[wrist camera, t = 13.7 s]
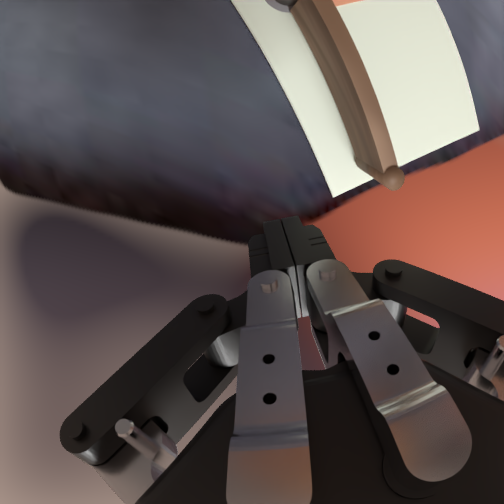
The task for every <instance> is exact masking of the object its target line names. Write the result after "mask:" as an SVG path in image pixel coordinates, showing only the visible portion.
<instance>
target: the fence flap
mask: <svg viewBox="0 0 504 504" xmlns="http://www.w3.org/2000/svg"><path fill="white" fill-rule="evenodd" d="M290 11H291V13H292V15H293V17H294V18H295V20H296V22H297V24H298V26H299V28H300V29H301V31H302V33H303V35H304V37H305V39H306V41H307V43H308V45H309V47H310V49H311V51H312V53H313V55H314V57H315V59H316V61H317V63H318V65H319V67H320V69H321V71H322V74H323V76H324V78H325V80H326V82H327V85H328V87H329V89H330V91H331V94H332V96H333V98H334V101H335V103H336V106H337V108H338V111H339V113H340V116H341V118H342V121H343V123H344V126H345V128H346V131H347V134H348V136H349V139H350V142H351V145H352V147H353V150H354V153H355V156H356V158H355V163H356V165H357V167H358V168H359V169H361V170H362V171H364V172H365V173H367V174H368V175H370V176H371V177H373V178H374V179H375V180H377V181H378V182H380V183H381V184H383V185H384V186H385V187H387V188H388V189H390V190H397V189H399V188H400V187H401V186H402V185H403V183H404V173H403V171H402V170H401V169H399V168H398V164H397V160H396V156H395V152H394V149H393V145H392V142H391V139H390V135H389V132H388V129H387V126H386V122H385V119H384V116H383V113H382V110H381V108H380V105H379V102H378V99H377V96H376V94H375V91H374V88H373V86H372V83H371V81H370V78H369V76H368V73H367V71H366V68H365V66H364V64H363V61H362V59H361V57H360V54H359V52H358V50H357V48H356V46H355V43H354V41H353V39H352V37H351V35H350V33H349V31H348V29H347V27H346V25H345V23H344V21H343V19H342V17H341V15H340V13H339V12H338V10H337V8H336V6H335V4H334V2H333V1H332V0H298V1H297V2H296V4H295V5H294V6H293V8H292V9H291V10H290Z"/></svg>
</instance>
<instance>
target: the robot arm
mask: <svg viewBox="0 0 504 504" xmlns="http://www.w3.org/2000/svg"><path fill="white" fill-rule="evenodd" d="M263 226H264V231H265V234H260V235H255V236H252V238H251V239H250V241H249V243H248V247H249V257H250V269H251V280H250V281H249V283H248V290H247V291H246V292H245V293H243V294H242V295H240V296H238V297H237V298H234V299H232V300H230V301H226V299H225V298H224V297H222V296H220V295H216V294H209V295H204V296H201V297H199V298H197V299H195V300H193V301H192V302H191V303H190V304H189V305H188V306H187V307H186V308H184V310H182V311H181V312H180V313H179V314H178V315H177V316H176V317H175V318H174V319H173V320H172V321H171V322H169V323H168V324H167V325H166V326H165V327H164V328H163V329H162V330H161V331H160V332H159V333H157V334H156V335H155V336H154V337H153V338H152V339H151V340H150V341H149V342H148V343H147V344H146V345H145V346H143V347H142V348H141V349H140V350H139V351H138V352H137V353H136V354H135V355H134V356H133V357H132V358H131V359H129V360H128V361H127V362H126V363H125V364H124V365H123V366H122V367H121V368H120V369H119V370H118V371H116V372H115V373H114V374H113V375H112V376H111V377H110V378H109V379H108V380H107V381H106V382H105V383H104V384H102V385H101V386H100V387H99V388H98V389H97V390H96V391H95V392H94V393H93V394H92V395H91V396H90V397H89V398H87V399H86V400H85V401H84V402H83V403H82V404H81V405H80V406H79V407H78V408H77V409H76V410H75V411H74V412H72V413H71V414H70V415H69V416H68V417H67V418H66V419H65V421H64V422H63V424H62V426H61V430H60V441H61V444H62V445H63V447H64V448H65V449H66V450H67V451H69V452H70V453H72V454H73V455H75V456H76V457H78V458H79V459H81V460H82V461H83V462H84V463H86V464H87V465H89V466H91V467H92V468H94V469H95V470H96V471H97V473H98V474H99V475H100V476H101V477H102V479H103V480H104V481H105V482H106V483H107V484H108V485H109V487H110V488H111V489H112V490H113V491H114V492H115V493H116V494H117V496H118V497H119V498H120V499H121V500H122V501H123V502H124V503H125V504H504V301H503V300H500V299H498V298H495V297H493V296H491V295H488V294H486V293H483V292H481V291H478V290H476V289H473V288H471V287H468V286H466V285H463V284H461V283H458V282H455V281H453V280H450V279H448V278H445V277H443V276H440V275H437V274H435V273H432V272H430V271H427V270H424V269H422V268H419V267H416V266H413V265H411V264H408V263H405V262H402V261H399V260H384V261H381V262H379V263H378V264H376V265H375V267H374V269H373V273H356V272H351V271H350V270H349V269H348V267H347V266H346V265H345V264H344V263H342V262H340V261H338V260H336V258H335V256H334V254H333V252H332V250H331V248H330V247H329V245H328V243H327V241H326V239H325V237H324V236H323V234H322V232H321V230H320V229H319V228H317V227H315V226H314V225H307V226H302V223H301V221H300V219H299V217H298V216H293V217H288V218H282V219H281V222H280V219H277V220H272V221H267V222H263ZM299 305H300V306H299ZM407 307H408V308H411V309H413V310H415V311H418V312H420V313H422V314H424V315H427V316H429V317H431V318H433V319H435V320H436V321H437V322H438V324H439V326H440V328H436V327H433V326H431V325H429V324H427V323H425V322H422V321H420V320H418V319H416V318H413V317H411V316H409V315H407V314H406V312H407ZM300 309H301V313H302V317H304V316H309V317H310V320H311V330H312V334H313V337H314V339H315V342H316V344H317V347H318V350H319V352H320V355H321V357H322V360H323V363H324V366H325V368H326V370H316V371H315V370H314V371H312V370H310V371H309V370H302V368H301V360H300V351H299V343H298V334H297V331H298V319H297V318H300V317H301V315H300ZM202 353H203V355H202ZM201 355H202V356H201ZM200 356H201V357H200ZM199 357H200V358H199ZM198 358H199V359H198ZM197 359H198V360H197ZM196 360H197V361H196ZM195 361H196V362H195ZM194 362H195V363H194ZM193 363H194V364H193ZM192 364H193V365H192ZM191 365H192V366H191ZM190 366H191V367H190ZM189 367H190V368H189ZM188 368H189V369H188ZM236 376H237V391H236V393H235V394H234V395H232V396H231V397H229V398H228V399H227V400H226V401H224V402H223V404H221V405H220V406H219V408H218V409H217V410H216V411H215V412H214V413H213V414H212V416H211V417H210V418H209V419H208V421H207V422H206V423H205V424H204V426H203V427H202V428H201V429H200V431H199V432H198V433H197V434H196V435H195V436H194V438H193V439H192V440H191V441H190V442H189V444H188V445H187V446H186V447H185V448H184V449H183V450H182V452H181V453H180V454H179V455H178V456H177V454H178V451H177V446H176V444H177V443H178V442H179V441H180V439H181V438H182V437H183V436H184V435H185V434H186V433H187V432H188V431H189V430H190V429H191V427H192V426H193V425H194V424H195V423H196V422H197V421H198V420H199V418H200V417H201V416H202V415H203V414H204V413H205V412H206V411H207V409H208V408H209V407H210V406H211V405H212V404H213V403H214V402H215V400H216V399H217V398H218V397H219V396H220V395H221V393H222V392H223V391H224V390H225V389H226V388H227V386H228V385H229V384H230V383H231V382H232V380H233V379H234V378H235V377H236Z"/></svg>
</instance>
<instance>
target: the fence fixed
mask: <svg viewBox="0 0 504 504" xmlns="http://www.w3.org/2000/svg"><path fill="white" fill-rule="evenodd" d="M275 1H276V2H278V3H280V4H282V5H286V6H293V5H295V4H296V2H297V1H298V0H275Z"/></svg>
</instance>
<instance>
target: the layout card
mask: <svg viewBox="0 0 504 504" xmlns="http://www.w3.org/2000/svg"><path fill="white" fill-rule="evenodd" d="M332 1H333V2H334V4H335V6H336V8H337V10H338V12H339V13H340V15H341V17H342V19H343V21H344V23H345V25H346V27H347V29H348V31H349V33H350V35H351V37H352V39H353V41H354V43H355V46H356V48H357V50H358V52H359V54H360V57H361V59H362V61H363V64H364V66H365V68H366V71H367V73H368V76H369V78H370V81H371V83H372V86H373V88H374V91H375V94H376V96H377V99H378V102H379V105H380V108H381V110H382V113H383V116H384V119H385V122H386V126H387V129H388V132H389V135H390V139H391V142H392V145H393V149H394V152H395V156H396V160H397V164H398V167H399V166H401V165H404V164H406V163H408V162H410V161H412V160H414V159H417V158H419V157H421V156H423V155H425V154H428V153H430V152H432V151H434V150H436V149H439V148H441V147H443V146H445V145H447V144H450V143H452V142H454V141H456V140H458V139H461V138H463V137H465V136H467V135H470V134H472V133H474V132H476V131H479V126H478V121H477V116H476V111H475V107H474V103H473V99H472V95H471V91H470V87H469V84H468V80H467V77H466V74H465V70H464V67H463V64H462V61H461V58H460V55H459V53H458V50H457V47H456V44H455V42H454V39H453V37H452V34H451V32H450V29H449V27H448V25H447V22H446V20H445V18H444V16H443V13H442V11H441V9H440V7H439V5H438V3H437V1H436V0H332ZM231 2H232V3H233V5H234V6H235V8H236V9H237V11H238V12H239V14H240V16H241V17H242V19H243V20H244V22H245V24H246V25H247V27H248V28H249V30H250V32H251V33H252V35H253V37H254V38H255V40H256V42H257V43H258V45H259V47H260V48H261V50H262V52H263V54H264V55H265V57H266V59H267V61H268V62H269V64H270V66H271V68H272V70H273V72H274V73H275V75H276V77H277V79H278V81H279V83H280V85H281V86H282V88H283V90H284V92H285V94H286V96H287V98H288V100H289V102H290V104H291V106H292V108H293V110H294V112H295V114H296V116H297V118H298V120H299V122H300V124H301V126H302V128H303V130H304V133H305V135H306V137H307V139H308V141H309V143H310V146H311V148H312V150H313V152H314V154H315V157H316V159H317V161H318V163H319V166H320V168H321V170H322V173H323V175H324V177H325V180H326V182H327V185H328V187H329V189H330V192H331V194H332V196H333V197H335V196H337V195H339V194H342V193H344V192H346V191H348V190H350V189H352V188H354V187H356V186H359V185H361V184H363V183H365V182H367V181H369V180H371V179H373V177H371V176H370V175H368V174H367V173H365V172H364V171H362V170H361V169H359V168H358V167H357V165H356V163H355V158H356V156H355V153H354V150H353V147H352V145H351V142H350V139H349V136H348V134H347V131H346V128H345V126H344V123H343V121H342V118H341V116H340V113H339V111H338V108H337V106H336V103H335V101H334V98H333V96H332V94H331V91H330V89H329V87H328V85H327V82H326V80H325V78H324V76H323V74H322V71H321V69H320V67H319V65H318V63H317V61H316V59H315V57H314V55H313V53H312V51H311V49H310V47H309V45H308V43H307V41H306V39H305V37H304V35H303V33H302V31H301V29H300V28H299V26H298V24H297V22H296V20H295V18H294V17H293V15H292V13H291V11H290V10H291V9H292V8H293V6H294V5H293V6H286V5H282V4H280V3H278V2H276V1H275V0H231Z"/></svg>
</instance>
